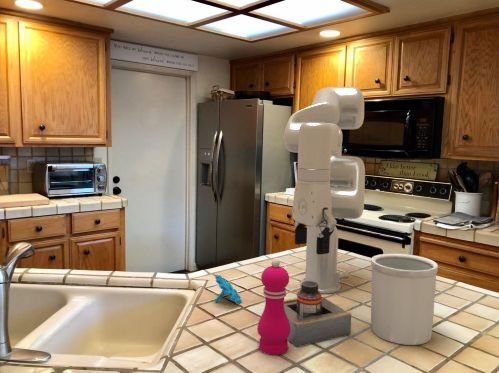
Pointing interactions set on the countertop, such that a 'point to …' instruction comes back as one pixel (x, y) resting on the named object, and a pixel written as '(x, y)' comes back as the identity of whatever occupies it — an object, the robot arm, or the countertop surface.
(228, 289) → the cyan jagged piece
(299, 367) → the countertop surface
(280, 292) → the pepper mill
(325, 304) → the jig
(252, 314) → the countertop surface
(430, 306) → the utensil holder
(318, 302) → the supplement bottle
